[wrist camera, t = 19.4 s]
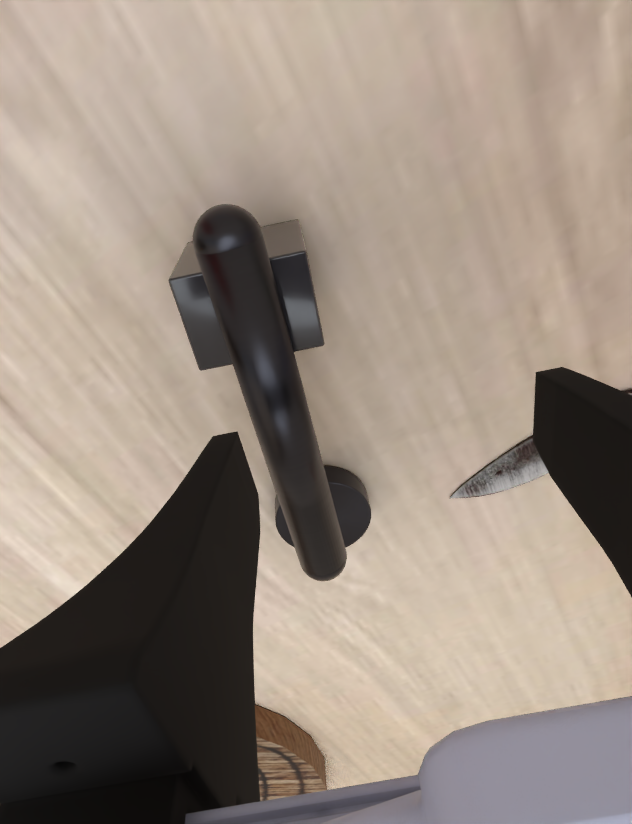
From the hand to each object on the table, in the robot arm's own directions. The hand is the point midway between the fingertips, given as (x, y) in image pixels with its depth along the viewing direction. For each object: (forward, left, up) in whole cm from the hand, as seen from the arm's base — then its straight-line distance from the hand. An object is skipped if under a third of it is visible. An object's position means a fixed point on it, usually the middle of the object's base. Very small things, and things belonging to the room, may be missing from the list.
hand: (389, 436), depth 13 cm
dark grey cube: (+4, +1, -9) cm, 9 cm away
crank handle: (0, +4, -9) cm, 10 cm away
